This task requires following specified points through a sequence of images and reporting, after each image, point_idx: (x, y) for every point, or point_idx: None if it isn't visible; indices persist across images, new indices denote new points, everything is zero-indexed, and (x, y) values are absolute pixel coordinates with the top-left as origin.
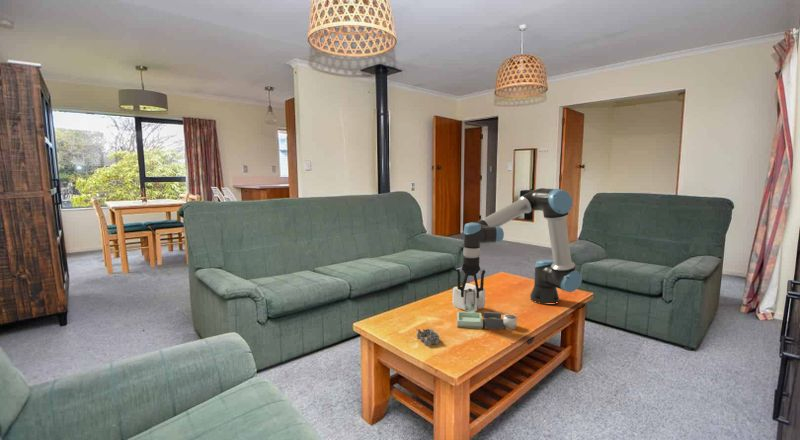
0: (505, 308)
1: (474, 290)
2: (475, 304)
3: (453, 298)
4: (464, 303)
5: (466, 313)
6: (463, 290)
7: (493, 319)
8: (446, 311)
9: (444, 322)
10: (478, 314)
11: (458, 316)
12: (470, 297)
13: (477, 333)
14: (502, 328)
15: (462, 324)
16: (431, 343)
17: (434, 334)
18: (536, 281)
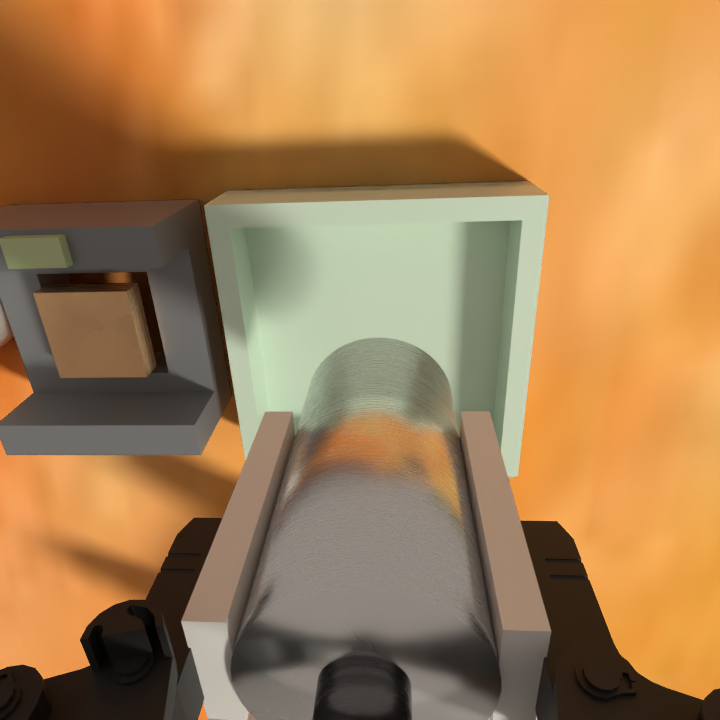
0: (73, 647)
1: (248, 701)
2: (274, 421)
3: (536, 717)
4: (471, 425)
5: None
6: (565, 661)
7: (48, 229)
8: (595, 547)
9: (668, 288)
10: None
11: (516, 343)
12: (358, 480)
13: (281, 20)
14: (4, 206)
15: (470, 188)
16: None
17: None
18: None
